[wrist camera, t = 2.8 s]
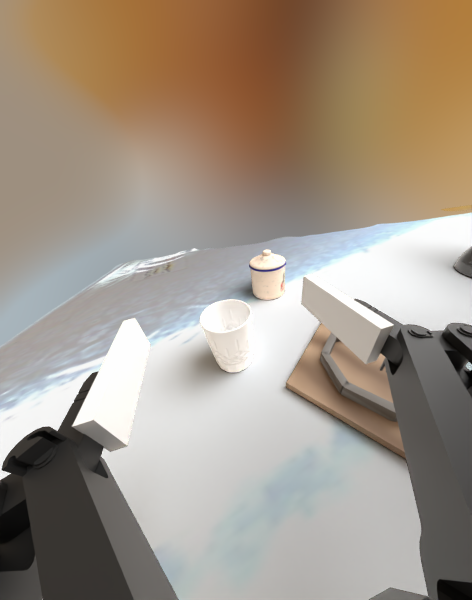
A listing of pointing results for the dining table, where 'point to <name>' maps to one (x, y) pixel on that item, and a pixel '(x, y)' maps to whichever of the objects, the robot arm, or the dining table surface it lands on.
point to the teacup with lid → (268, 275)
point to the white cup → (229, 333)
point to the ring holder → (348, 388)
